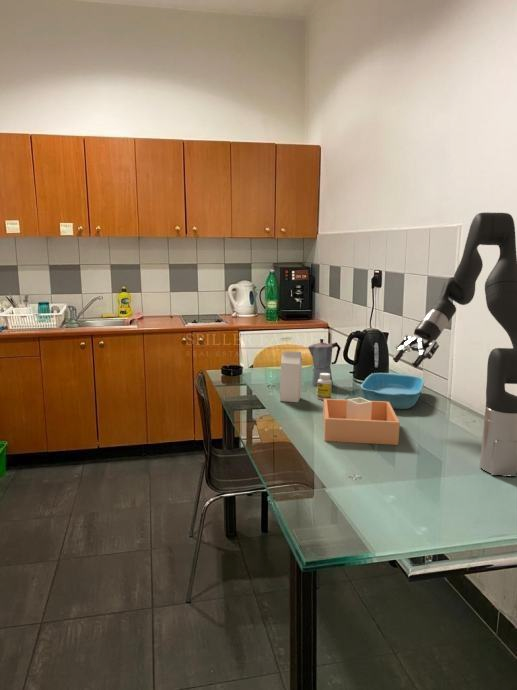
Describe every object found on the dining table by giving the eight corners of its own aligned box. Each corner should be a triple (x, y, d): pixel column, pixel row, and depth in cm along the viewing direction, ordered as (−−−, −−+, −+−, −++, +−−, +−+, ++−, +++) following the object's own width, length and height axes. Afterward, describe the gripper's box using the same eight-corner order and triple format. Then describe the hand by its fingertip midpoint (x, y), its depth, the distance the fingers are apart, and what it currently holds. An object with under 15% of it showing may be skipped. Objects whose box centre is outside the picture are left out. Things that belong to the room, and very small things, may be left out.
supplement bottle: (314, 398, 207) (315, 374, 206) (319, 395, 212) (321, 371, 210) (328, 401, 205) (329, 376, 203) (332, 397, 210) (334, 373, 208)
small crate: (359, 423, 176) (360, 397, 174) (370, 428, 171) (372, 401, 170) (345, 426, 173) (347, 399, 172) (356, 431, 169) (358, 404, 167)
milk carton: (298, 402, 202) (300, 353, 198) (279, 401, 203) (281, 352, 200) (300, 397, 209) (302, 350, 205) (282, 396, 210) (284, 349, 206)
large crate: (398, 444, 161) (399, 422, 159) (324, 440, 163) (325, 418, 161) (387, 421, 182) (389, 401, 181) (322, 418, 184) (323, 398, 183)
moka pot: (301, 383, 230) (303, 337, 227) (331, 380, 237) (333, 336, 233) (312, 389, 222) (314, 341, 218) (344, 385, 228) (346, 339, 224)
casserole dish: (371, 385, 231) (372, 369, 230) (425, 391, 223) (426, 374, 222) (354, 408, 197) (356, 389, 196) (417, 416, 189) (419, 397, 188)
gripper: (410, 316, 182) (383, 352, 179) (443, 321, 170) (415, 360, 166) (420, 331, 186) (393, 366, 182) (453, 337, 174) (426, 375, 170)
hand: (404, 363), depth 174 cm, fingers open, 8 cm apart
